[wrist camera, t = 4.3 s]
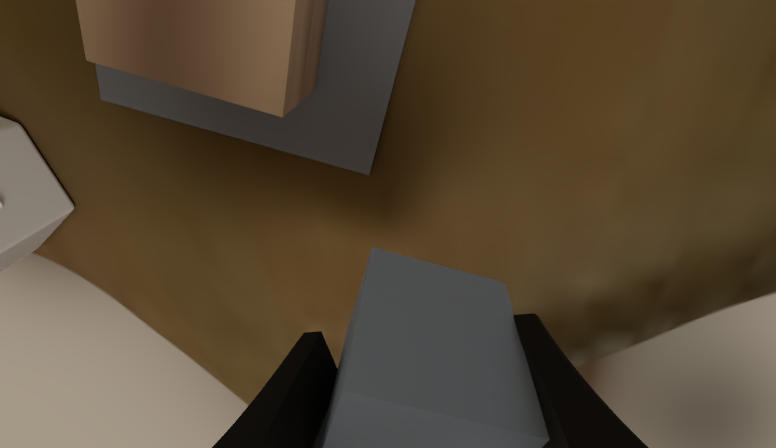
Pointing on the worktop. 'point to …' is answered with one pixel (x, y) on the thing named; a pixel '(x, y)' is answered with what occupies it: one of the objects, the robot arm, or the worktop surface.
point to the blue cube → (432, 364)
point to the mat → (316, 112)
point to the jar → (26, 196)
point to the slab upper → (206, 46)
